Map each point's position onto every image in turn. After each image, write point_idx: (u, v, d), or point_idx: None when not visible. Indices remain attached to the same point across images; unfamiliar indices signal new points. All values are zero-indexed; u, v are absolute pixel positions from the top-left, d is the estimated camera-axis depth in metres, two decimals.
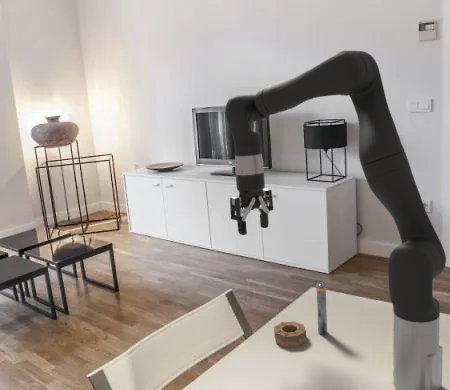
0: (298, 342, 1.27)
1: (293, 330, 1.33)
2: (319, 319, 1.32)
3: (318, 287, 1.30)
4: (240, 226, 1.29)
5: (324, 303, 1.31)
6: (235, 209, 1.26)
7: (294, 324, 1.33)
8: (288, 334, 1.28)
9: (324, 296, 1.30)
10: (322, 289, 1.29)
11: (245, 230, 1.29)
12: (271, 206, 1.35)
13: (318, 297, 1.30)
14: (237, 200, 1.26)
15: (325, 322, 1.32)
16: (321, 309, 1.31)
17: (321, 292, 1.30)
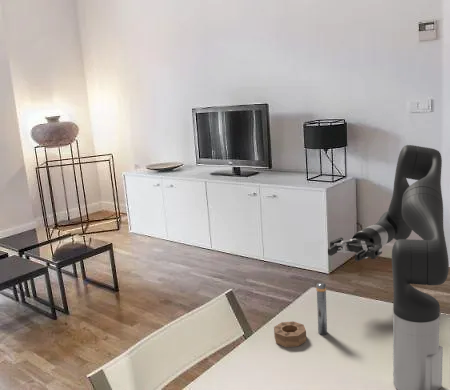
0: (298, 342, 1.27)
1: (293, 330, 1.33)
2: (319, 319, 1.32)
3: (318, 287, 1.30)
4: None
5: (324, 303, 1.31)
6: None
7: (294, 324, 1.33)
8: (288, 334, 1.28)
9: (324, 296, 1.30)
10: (322, 289, 1.29)
11: (331, 247, 1.41)
12: (373, 249, 1.37)
13: (318, 297, 1.30)
14: (340, 238, 1.48)
15: (325, 322, 1.32)
16: (321, 309, 1.31)
17: (321, 292, 1.30)
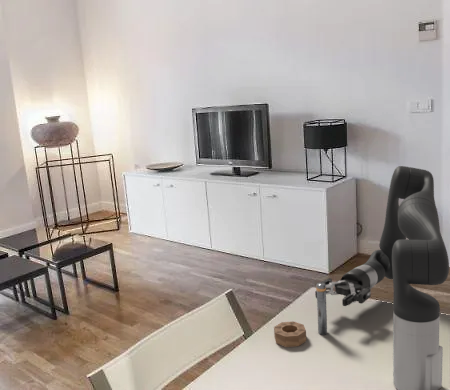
0: (298, 342, 1.27)
1: (293, 330, 1.33)
2: (319, 319, 1.32)
3: (318, 287, 1.30)
4: None
5: (324, 303, 1.31)
6: None
7: (294, 324, 1.33)
8: (288, 334, 1.28)
9: (324, 296, 1.30)
10: (322, 289, 1.29)
11: None
12: (361, 293, 1.34)
13: (318, 297, 1.30)
14: (328, 278, 1.45)
15: (325, 322, 1.32)
16: (321, 309, 1.31)
17: (321, 292, 1.30)
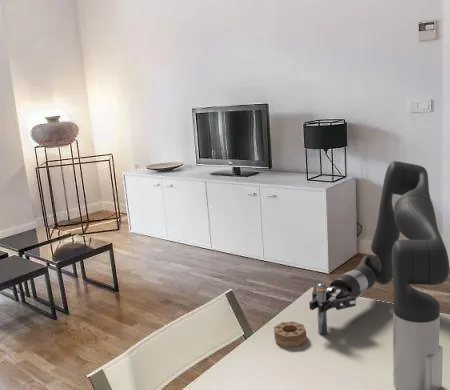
0: (298, 342, 1.27)
1: (293, 330, 1.33)
2: (319, 319, 1.32)
3: (318, 287, 1.30)
4: None
5: None
6: (313, 292, 1.38)
7: (294, 324, 1.33)
8: (288, 334, 1.28)
9: (324, 296, 1.30)
10: (322, 289, 1.29)
11: (313, 301, 1.31)
12: (338, 299, 1.31)
13: (318, 297, 1.30)
14: (315, 287, 1.40)
15: (325, 322, 1.32)
16: None
17: (321, 292, 1.30)
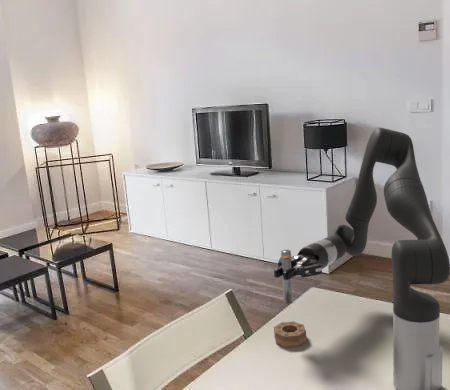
0: (298, 342, 1.27)
1: (293, 330, 1.33)
2: (284, 287, 1.28)
3: (283, 254, 1.26)
4: None
5: None
6: None
7: (294, 324, 1.33)
8: (288, 334, 1.28)
9: (289, 263, 1.26)
10: (287, 256, 1.25)
11: (277, 268, 1.27)
12: (304, 266, 1.27)
13: (283, 265, 1.26)
14: None
15: (290, 290, 1.28)
16: None
17: (285, 259, 1.25)
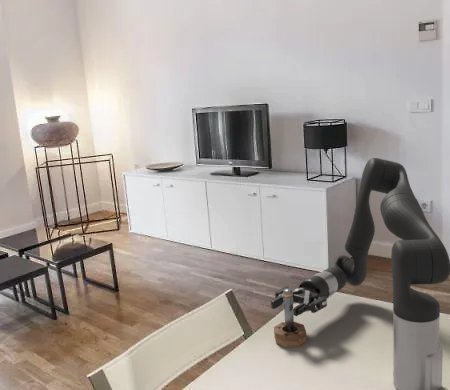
0: (298, 342, 1.27)
1: None
2: (286, 325, 1.30)
3: (284, 293, 1.28)
4: None
5: (291, 309, 1.28)
6: None
7: (294, 324, 1.33)
8: (288, 334, 1.28)
9: (291, 302, 1.28)
10: (289, 295, 1.27)
11: (274, 299, 1.31)
12: (313, 302, 1.27)
13: (285, 303, 1.28)
14: (285, 286, 1.39)
15: (292, 328, 1.30)
16: (288, 315, 1.29)
17: (287, 298, 1.28)
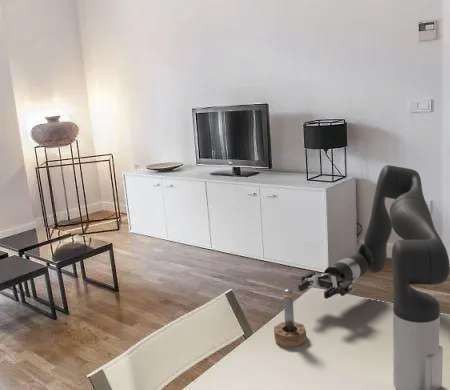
0: (298, 342, 1.27)
1: None
2: (286, 325, 1.30)
3: (284, 293, 1.28)
4: None
5: (291, 309, 1.28)
6: None
7: (294, 324, 1.33)
8: (288, 334, 1.28)
9: (291, 302, 1.28)
10: (289, 295, 1.27)
11: (301, 283, 1.41)
12: (342, 286, 1.36)
13: (285, 303, 1.28)
14: (312, 272, 1.48)
15: (292, 328, 1.30)
16: (288, 315, 1.29)
17: (287, 298, 1.28)
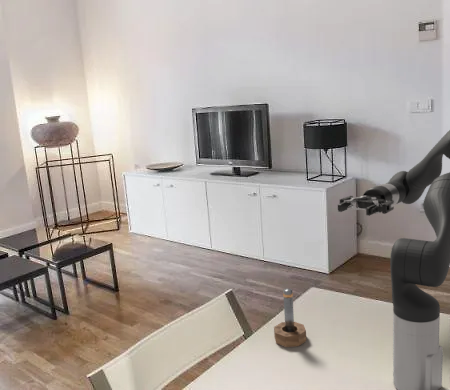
0: (298, 342, 1.27)
1: None
2: (286, 325, 1.30)
3: (284, 293, 1.28)
4: None
5: (291, 309, 1.28)
6: None
7: (294, 324, 1.33)
8: (288, 334, 1.28)
9: (291, 302, 1.28)
10: (289, 295, 1.27)
11: (341, 203, 1.37)
12: (384, 203, 1.32)
13: (285, 303, 1.28)
14: (349, 196, 1.44)
15: (292, 328, 1.30)
16: (288, 315, 1.29)
17: (287, 298, 1.28)
